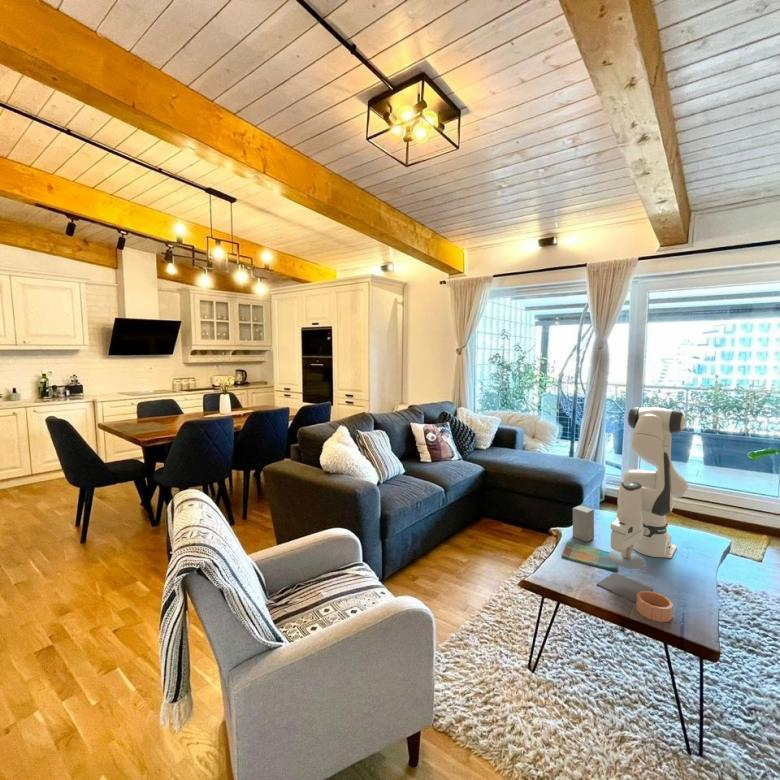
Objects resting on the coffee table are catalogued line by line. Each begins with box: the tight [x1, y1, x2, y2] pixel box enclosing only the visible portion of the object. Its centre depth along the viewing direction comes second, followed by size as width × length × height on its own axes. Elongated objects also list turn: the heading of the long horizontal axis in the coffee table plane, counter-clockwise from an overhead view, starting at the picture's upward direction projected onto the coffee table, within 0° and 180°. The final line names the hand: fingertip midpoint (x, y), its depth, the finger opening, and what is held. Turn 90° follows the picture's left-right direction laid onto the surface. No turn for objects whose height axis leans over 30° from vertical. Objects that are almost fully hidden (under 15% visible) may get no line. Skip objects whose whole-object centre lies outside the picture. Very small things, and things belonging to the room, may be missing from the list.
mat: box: [596, 571, 653, 604], centre depth 170 cm, size 15×15×1 cm
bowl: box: [635, 590, 674, 623], centre depth 154 cm, size 11×11×5 cm
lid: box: [608, 548, 646, 570], centre depth 169 cm, size 13×13×5 cm
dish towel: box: [561, 541, 619, 573], centre depth 194 cm, size 17×23×2 cm
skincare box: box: [572, 505, 595, 543], centre depth 213 cm, size 8×7×16 cm
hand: (626, 554), depth 169 cm, fingers closed on lid, 3 cm apart
